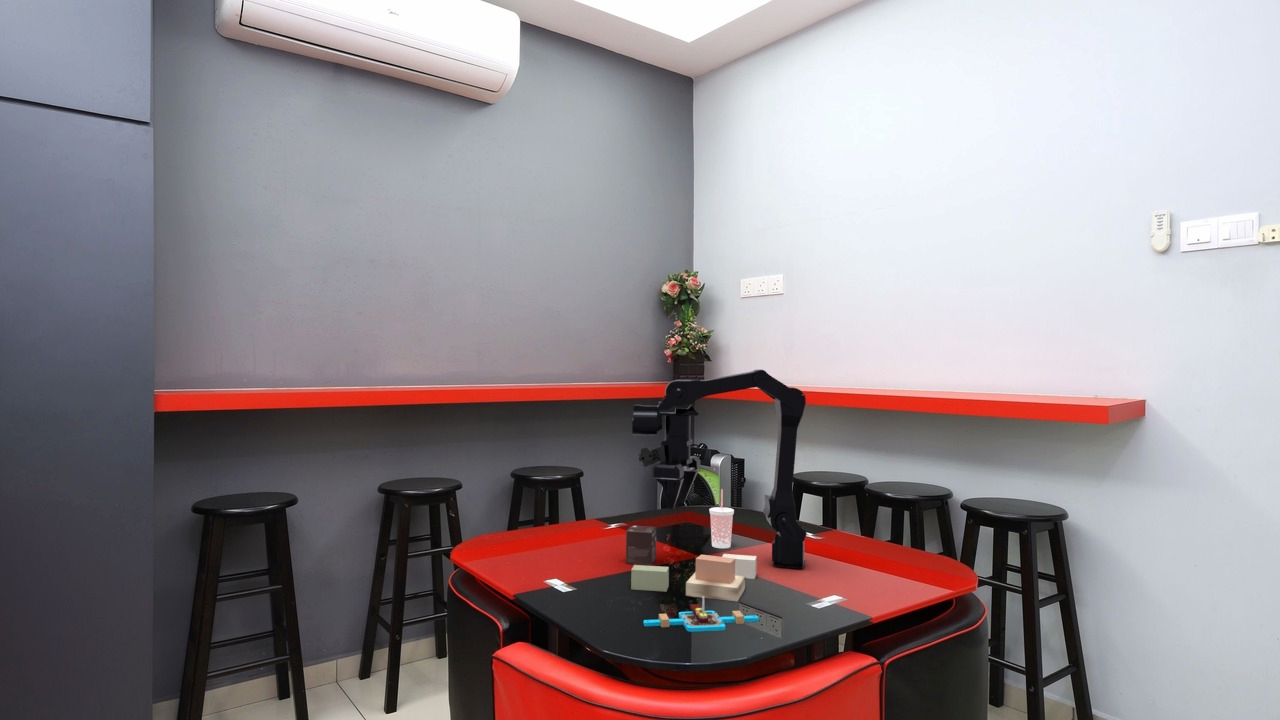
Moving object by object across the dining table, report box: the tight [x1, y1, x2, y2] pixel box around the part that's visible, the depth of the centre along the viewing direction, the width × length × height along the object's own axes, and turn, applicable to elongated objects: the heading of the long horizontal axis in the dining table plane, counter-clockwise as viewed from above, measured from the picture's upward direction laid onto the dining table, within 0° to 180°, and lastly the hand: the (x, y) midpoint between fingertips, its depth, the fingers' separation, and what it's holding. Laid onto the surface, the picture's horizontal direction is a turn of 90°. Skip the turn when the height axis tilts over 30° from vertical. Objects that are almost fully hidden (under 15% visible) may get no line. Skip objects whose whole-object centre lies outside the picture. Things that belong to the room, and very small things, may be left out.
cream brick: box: [721, 553, 758, 580], centre depth 149 cm, size 7×4×4 cm, turn 75°
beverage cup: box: [708, 488, 735, 549], centre depth 174 cm, size 6×6×14 cm
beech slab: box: [685, 571, 746, 602], centre depth 138 cm, size 10×8×3 cm
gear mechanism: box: [643, 596, 760, 633], centre depth 122 cm, size 20×5×9 cm
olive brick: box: [630, 564, 670, 593], centre depth 140 cm, size 7×4×4 cm, turn 81°
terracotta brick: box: [695, 554, 735, 584], centre depth 138 cm, size 7×4×4 cm, turn 67°
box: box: [625, 525, 657, 566], centre depth 160 cm, size 6×6×7 cm
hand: (676, 505), depth 158 cm, fingers open, 9 cm apart
